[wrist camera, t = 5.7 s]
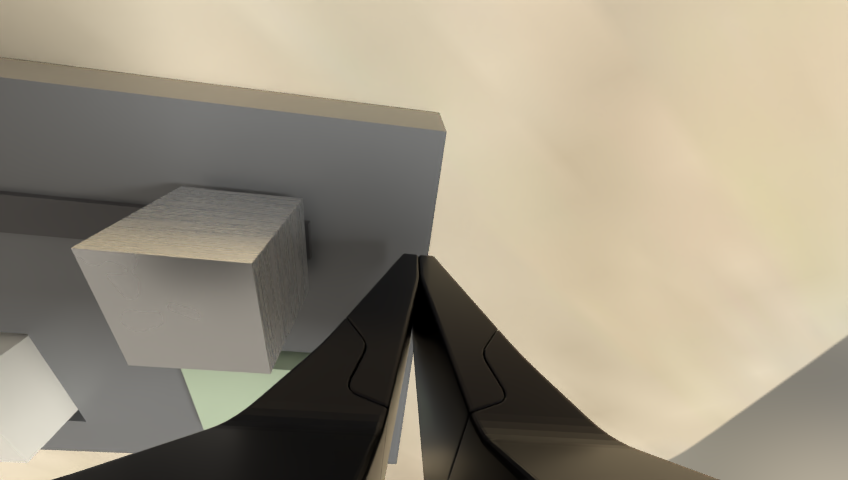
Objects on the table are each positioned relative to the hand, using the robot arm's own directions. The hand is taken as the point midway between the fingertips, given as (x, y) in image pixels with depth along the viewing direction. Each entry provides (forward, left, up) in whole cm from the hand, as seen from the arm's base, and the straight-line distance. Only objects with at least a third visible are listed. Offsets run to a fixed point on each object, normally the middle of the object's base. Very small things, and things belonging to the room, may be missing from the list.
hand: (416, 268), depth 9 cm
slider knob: (0, +5, -1) cm, 5 cm away
